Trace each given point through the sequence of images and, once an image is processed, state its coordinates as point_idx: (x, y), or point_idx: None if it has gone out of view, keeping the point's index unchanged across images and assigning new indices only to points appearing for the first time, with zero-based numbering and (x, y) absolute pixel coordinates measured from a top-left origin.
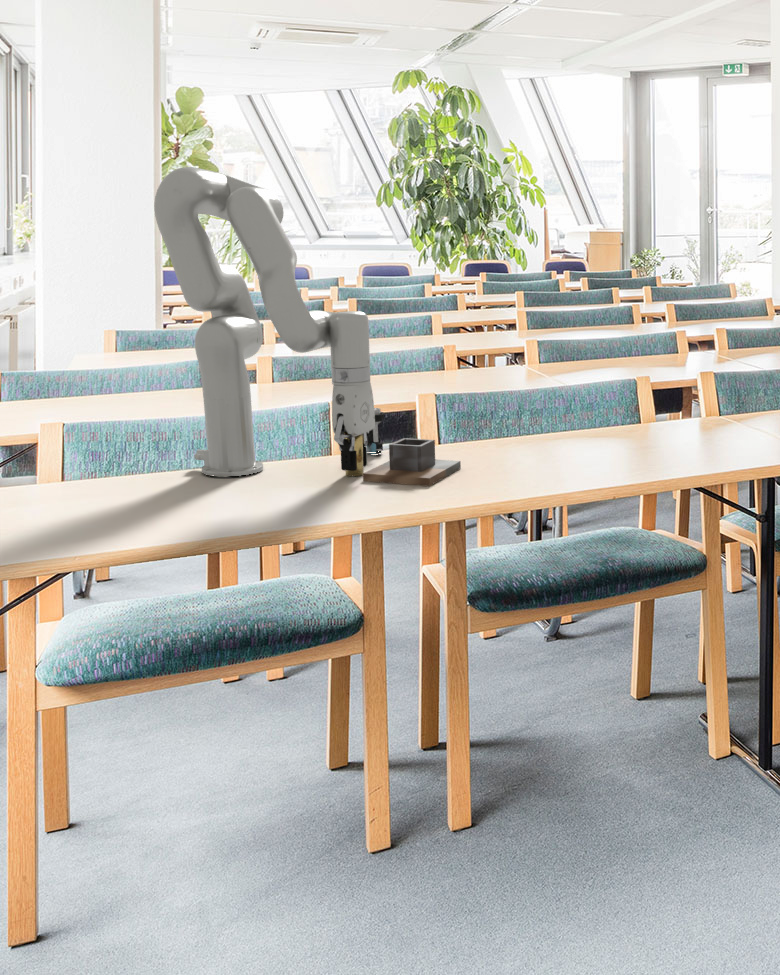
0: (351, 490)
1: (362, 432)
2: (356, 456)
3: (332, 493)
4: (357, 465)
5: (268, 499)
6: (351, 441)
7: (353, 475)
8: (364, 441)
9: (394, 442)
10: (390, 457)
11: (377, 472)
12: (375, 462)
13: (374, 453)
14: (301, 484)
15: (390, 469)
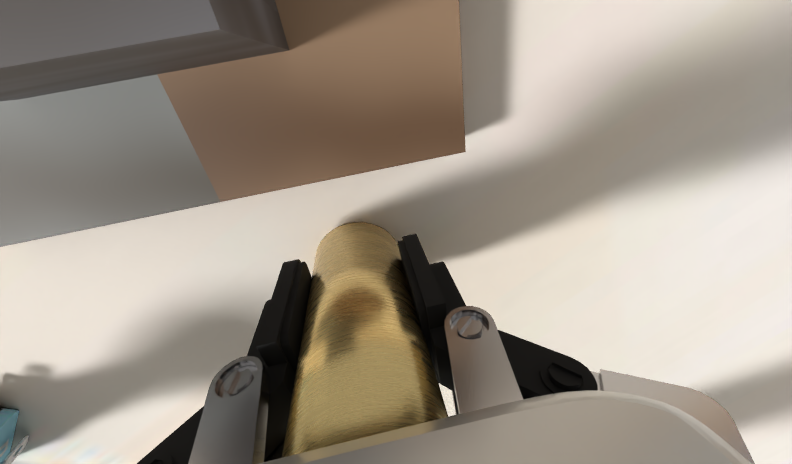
0: (644, 65)
1: (437, 438)
2: (395, 290)
3: (702, 115)
4: (386, 254)
5: (769, 256)
6: (511, 374)
7: (394, 240)
8: (259, 388)
9: (14, 46)
10: (264, 30)
11: (409, 79)
12: (98, 337)
13: (4, 420)
14: (569, 306)
15: (287, 44)
